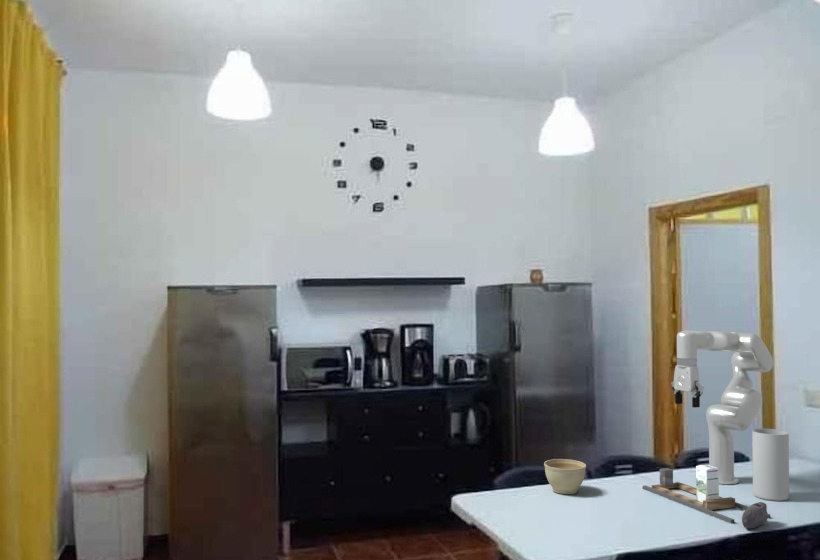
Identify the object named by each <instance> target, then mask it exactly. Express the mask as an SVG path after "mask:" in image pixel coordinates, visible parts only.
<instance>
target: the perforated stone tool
mask: <svg viewBox="0 0 820 560" xmlns="http://www.w3.org/2000/svg"><path fill="white" fill-rule="evenodd" d="M767 507H768V506H767V503H765V502H762V501H759V502H755V503H753V504H751V505H749V506H748V508H747V509H746V510H743V511H744V512H743V513H742V516H741V523H742V526H743V528H745V529H747V530H748V529H750V530H751V529H754V528H755V529H756V528H758V527H760V526H762V525H764V524H765V523H767V521H768V519H769V518H768V514H769V513H768V510H767V509H768V508H767Z"/></svg>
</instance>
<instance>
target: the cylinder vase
mask: <svg viewBox="0 0 820 560" xmlns="http://www.w3.org/2000/svg"><path fill="white" fill-rule="evenodd" d="M751 431H752V434H751V435H752V436H751V437H752V440H751V441H752V442H751V444H752V455H751V456H752V495H753V496H754V497H755V498H758V499H761V500H765V501H769V502H770V501H771V502H784V501H787V500H789V499H790V451H789V448H790V446H789V443H790V439H789V432H788V431H785V430H781V429H776V428H775V429H774V428H755V429H751Z"/></svg>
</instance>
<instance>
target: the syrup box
mask: <svg viewBox="0 0 820 560" xmlns="http://www.w3.org/2000/svg"><path fill="white" fill-rule="evenodd" d="M695 475H696V479H695V480H696V481H695V483H696V487H695V488H696V493H697V495H696V500H697V501H700V502H703V501H704V500H712V499H719V496H720V492H719V491H720V484H719V470H718V468H716V467H713V466H709V464H701V465H696V466H695Z"/></svg>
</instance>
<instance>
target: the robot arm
mask: <svg viewBox="0 0 820 560" xmlns="http://www.w3.org/2000/svg"><path fill="white" fill-rule="evenodd" d="M698 350H699V351H701V350H703V351H710V352H720V353H721V352H723V353H727V352H728V353H733V354H732V356H731V359H730V362H731V363H730V364H731V367H732V379H731V380H730V382H729V384H728V385H727V387H726V388H725V389H724V391H723V393H722V394H721V397H720V403H721V404H718V403H716V404H712V405H709V407H707V409H706V414H705V418H706V422H707V423H706V424H707V428H708V457H709V458H708V459H709V461H708V465H709V466H713V467H716V468H718V470H719V485H736V484H738V483H739V479H738V477H736V476H735V450H734V449H735V439H734V436H733V433H732V431H737V432H744V431H746V430H748V429H749V428H750V427H751V425H752V423H753V421H754V420H755V419H756V417H757V416H758V413H759V412H760V410H761V408H762V405H763V396H762V393H760V392H759V391H758V390H757V389H753V386H754V382H753V379H752V378H751V376H750V373H749V372H757V373H767V372H770V371H771V370H772V369H773V366H774V361H773V357H772V355H771V352H770V351H769V349H768V347H767V345H766V344H765V342H764V341H763V339H762V338H761V337H760V336H759V335H758V334H756V333H754V332H735V331H722V330H707V331H706V330H691V329H690V330H687V329H685V330H682V331H680V332H679V331H678V332H677V334H676V365H675V368H674V374H673V381H671V382H670V384H671V388H672V391H673V393H674V403H675V405H682V404H683V392H687V393H691V395H692V398H691V401H692V402H691V404H692V406H691V407H692V408H700V406H701V405H700V404H701V397H702V395H703V393H704V392H703V391H705V390H704V389H705V387H704V386H703V385H702V384H701V383H700V373H699V367H698V352H697V351H698Z"/></svg>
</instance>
